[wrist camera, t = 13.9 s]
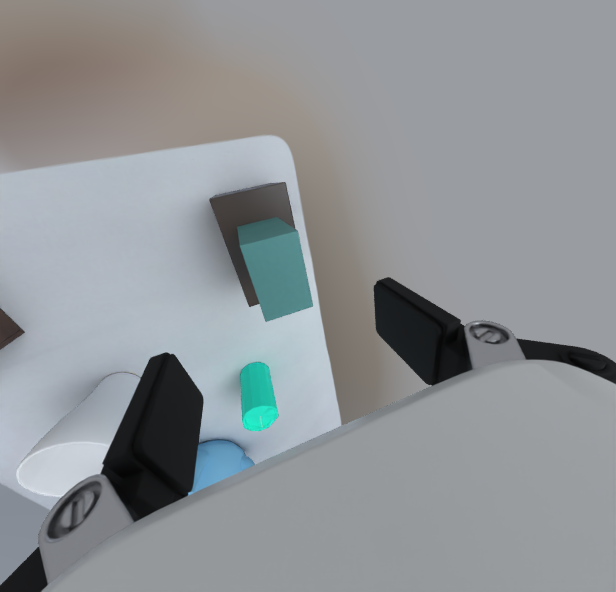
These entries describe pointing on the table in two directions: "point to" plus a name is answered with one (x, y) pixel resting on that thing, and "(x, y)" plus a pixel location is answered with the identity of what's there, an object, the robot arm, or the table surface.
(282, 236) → the block
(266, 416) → the candle
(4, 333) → the shelf
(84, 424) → the cup
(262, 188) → the dark brown box
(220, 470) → the teapot
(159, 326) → the table surface
